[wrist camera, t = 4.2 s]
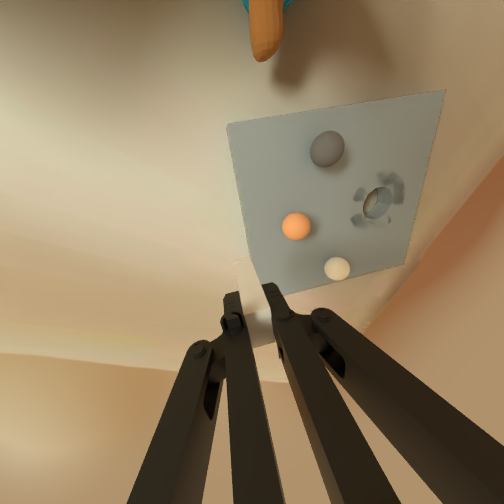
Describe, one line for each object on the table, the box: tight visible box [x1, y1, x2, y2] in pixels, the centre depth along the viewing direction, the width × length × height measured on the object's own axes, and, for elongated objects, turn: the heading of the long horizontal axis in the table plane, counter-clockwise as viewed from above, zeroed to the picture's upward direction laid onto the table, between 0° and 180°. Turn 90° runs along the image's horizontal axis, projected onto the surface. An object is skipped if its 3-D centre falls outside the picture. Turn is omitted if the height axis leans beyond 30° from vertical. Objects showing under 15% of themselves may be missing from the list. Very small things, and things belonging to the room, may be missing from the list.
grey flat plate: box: [226, 89, 446, 296], centre depth 27 cm, size 26×24×2 cm
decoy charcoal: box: [310, 131, 345, 167], centre depth 20 cm, size 4×4×4 cm
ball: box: [282, 212, 310, 240], centre depth 23 cm, size 4×4×4 cm
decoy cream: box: [324, 257, 350, 280], centre depth 27 cm, size 4×4×4 cm
